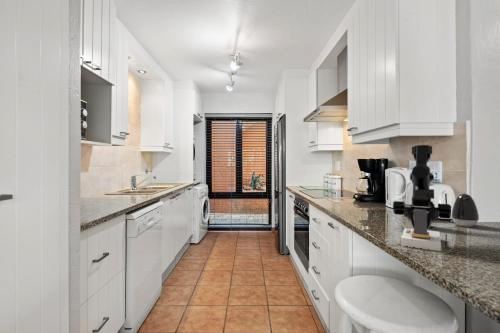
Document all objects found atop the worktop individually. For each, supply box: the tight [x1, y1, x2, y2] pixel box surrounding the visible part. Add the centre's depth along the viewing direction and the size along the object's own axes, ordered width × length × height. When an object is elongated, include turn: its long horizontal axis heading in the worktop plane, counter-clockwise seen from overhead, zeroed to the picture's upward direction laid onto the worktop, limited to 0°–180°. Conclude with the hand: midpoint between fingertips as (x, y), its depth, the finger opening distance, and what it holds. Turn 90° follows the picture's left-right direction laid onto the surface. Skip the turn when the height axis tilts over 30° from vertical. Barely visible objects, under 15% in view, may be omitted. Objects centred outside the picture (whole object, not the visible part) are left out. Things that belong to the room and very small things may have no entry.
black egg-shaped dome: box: [451, 193, 480, 228], centre depth 129 cm, size 10×10×15 cm
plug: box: [412, 209, 429, 239], centre depth 101 cm, size 5×5×13 cm
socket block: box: [400, 227, 442, 252], centre depth 104 cm, size 17×12×4 cm
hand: (420, 228), depth 99 cm, fingers closed on plug, 4 cm apart
